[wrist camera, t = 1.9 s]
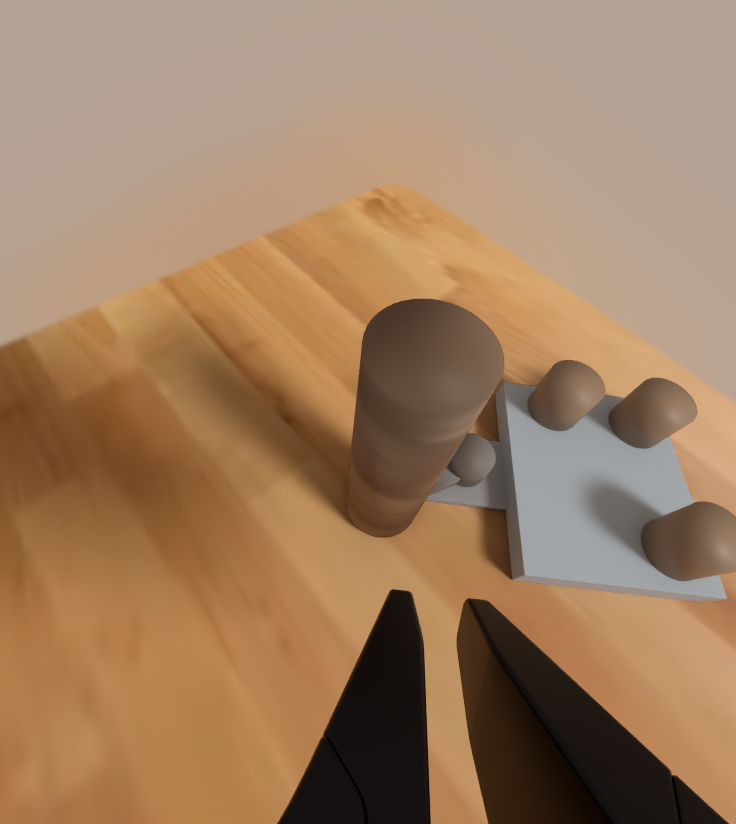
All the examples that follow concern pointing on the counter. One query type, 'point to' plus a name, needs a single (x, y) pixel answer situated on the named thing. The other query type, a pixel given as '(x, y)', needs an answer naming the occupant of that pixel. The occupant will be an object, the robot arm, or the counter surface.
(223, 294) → the counter surface
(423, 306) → the tall brown cylinder
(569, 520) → the grey flat piece
